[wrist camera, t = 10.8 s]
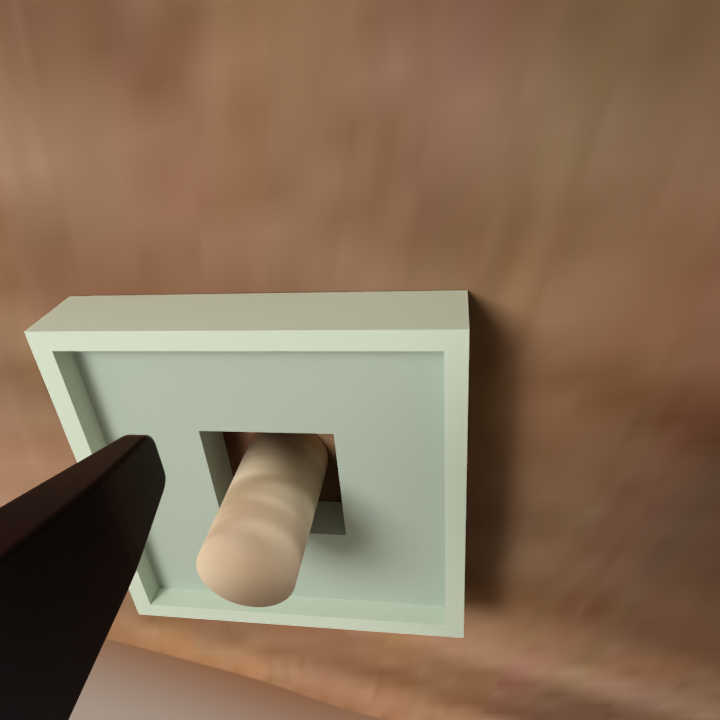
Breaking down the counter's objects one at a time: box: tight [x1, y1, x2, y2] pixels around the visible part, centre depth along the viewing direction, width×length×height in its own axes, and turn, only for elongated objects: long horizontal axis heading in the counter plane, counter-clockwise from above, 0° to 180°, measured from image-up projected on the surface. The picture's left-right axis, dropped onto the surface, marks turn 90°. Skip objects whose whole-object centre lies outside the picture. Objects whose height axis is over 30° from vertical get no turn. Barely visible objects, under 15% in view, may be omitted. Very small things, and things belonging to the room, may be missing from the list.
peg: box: [196, 432, 328, 607], centre depth 24 cm, size 4×4×6 cm
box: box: [24, 290, 469, 638], centre depth 25 cm, size 16×16×3 cm
